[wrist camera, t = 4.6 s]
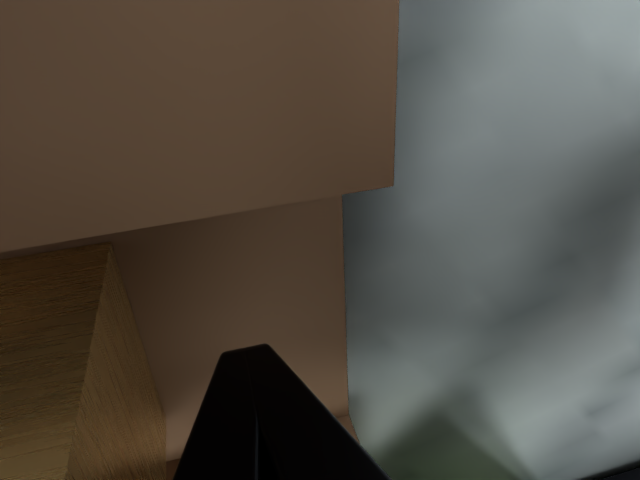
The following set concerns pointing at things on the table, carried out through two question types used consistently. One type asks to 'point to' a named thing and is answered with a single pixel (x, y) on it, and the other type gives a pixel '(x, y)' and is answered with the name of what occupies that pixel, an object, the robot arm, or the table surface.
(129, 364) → the brass block
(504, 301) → the table surface
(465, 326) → the table surface
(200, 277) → the slot board
